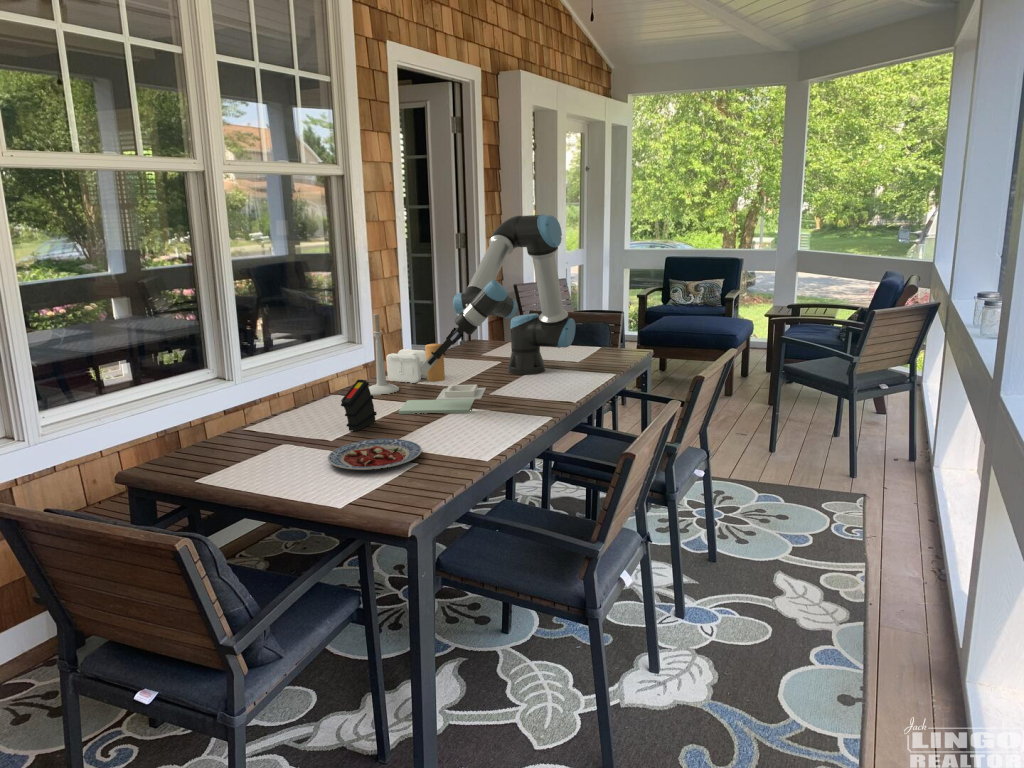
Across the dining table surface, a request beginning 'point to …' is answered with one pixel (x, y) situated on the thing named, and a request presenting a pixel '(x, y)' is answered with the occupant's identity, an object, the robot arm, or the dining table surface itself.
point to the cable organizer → (406, 365)
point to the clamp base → (461, 392)
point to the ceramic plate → (374, 454)
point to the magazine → (359, 406)
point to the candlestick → (380, 365)
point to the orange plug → (437, 369)
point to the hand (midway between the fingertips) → (425, 368)
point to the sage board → (437, 406)
